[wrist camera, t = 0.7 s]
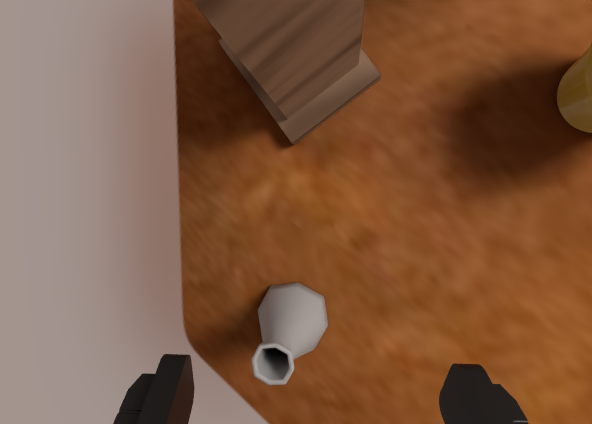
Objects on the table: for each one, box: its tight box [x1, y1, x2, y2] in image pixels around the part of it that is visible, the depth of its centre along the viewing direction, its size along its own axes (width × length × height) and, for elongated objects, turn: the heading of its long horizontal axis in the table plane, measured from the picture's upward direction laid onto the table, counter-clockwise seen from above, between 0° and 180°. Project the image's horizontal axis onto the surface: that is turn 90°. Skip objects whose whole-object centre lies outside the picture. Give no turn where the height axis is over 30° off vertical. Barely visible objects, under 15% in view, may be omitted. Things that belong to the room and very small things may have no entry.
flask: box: [251, 282, 328, 385], centre depth 31 cm, size 7×7×10 cm
